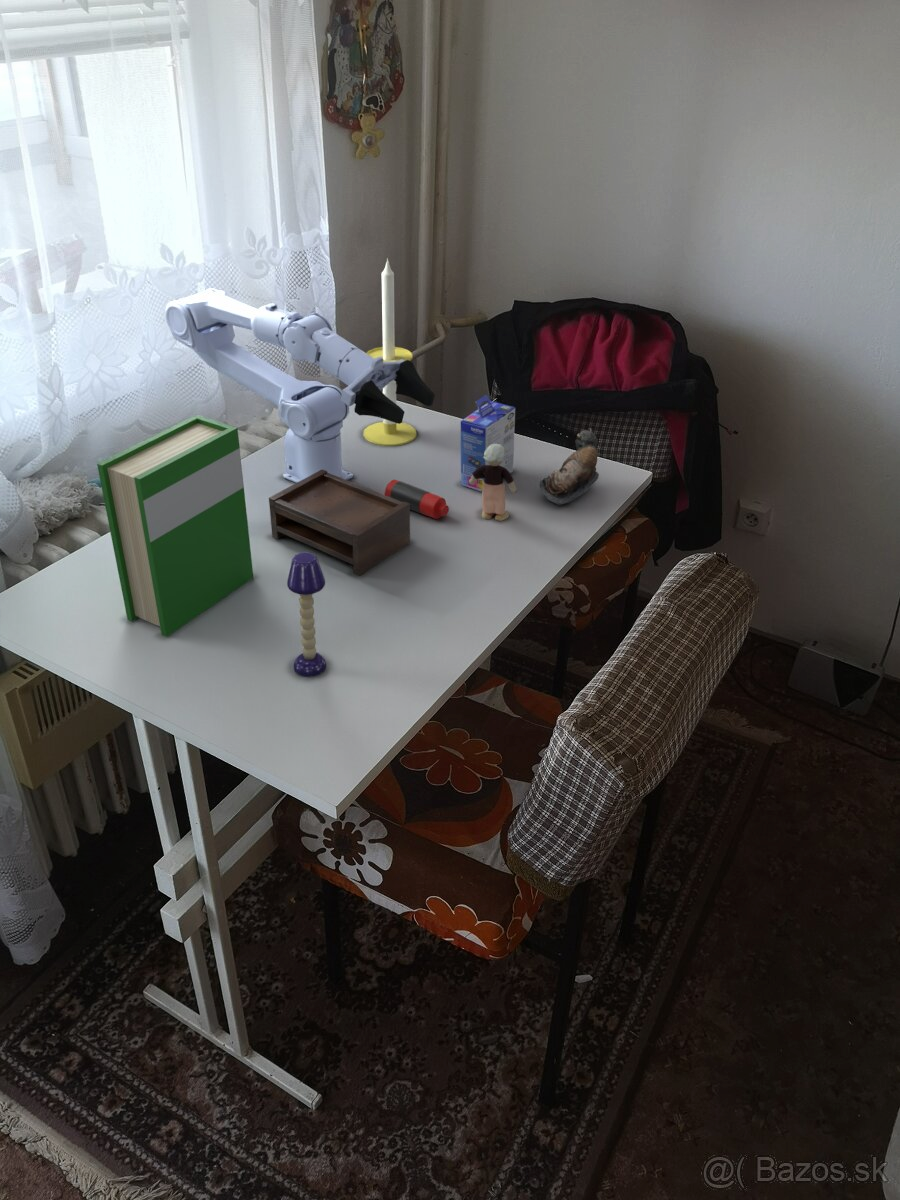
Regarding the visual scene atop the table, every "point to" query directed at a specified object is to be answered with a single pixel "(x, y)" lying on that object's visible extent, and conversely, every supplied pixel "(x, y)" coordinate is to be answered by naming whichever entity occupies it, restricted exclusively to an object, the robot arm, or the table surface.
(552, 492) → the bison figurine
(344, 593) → the table surface
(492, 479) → the grandmother figurine
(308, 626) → the toy lamp
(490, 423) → the ink cartridge box
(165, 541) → the hardback book
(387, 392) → the candle
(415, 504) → the thermos
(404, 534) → the shelf
